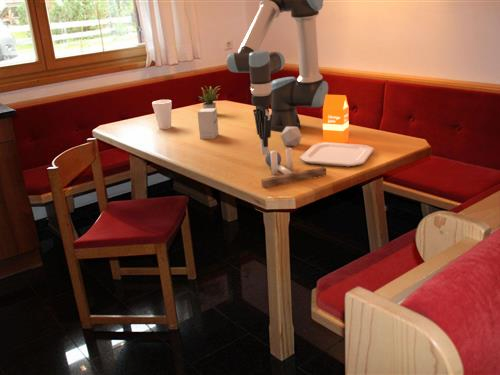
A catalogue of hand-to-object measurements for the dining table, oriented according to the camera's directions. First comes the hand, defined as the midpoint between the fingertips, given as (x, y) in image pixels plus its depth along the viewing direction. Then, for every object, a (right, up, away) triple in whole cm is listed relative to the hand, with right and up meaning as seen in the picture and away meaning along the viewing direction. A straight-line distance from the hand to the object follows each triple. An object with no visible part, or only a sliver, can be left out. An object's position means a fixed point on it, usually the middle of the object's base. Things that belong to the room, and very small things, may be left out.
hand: (264, 153), depth 204 cm
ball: (+3, -3, -8) cm, 9 cm away
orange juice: (+31, +6, +19) cm, 36 cm away
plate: (+28, -2, 0) cm, 28 cm away
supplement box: (-25, +10, +38) cm, 47 cm away
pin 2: (+9, -7, -12) cm, 17 cm away
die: (+12, +5, +18) cm, 22 cm away
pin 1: (+3, -8, -14) cm, 17 cm away
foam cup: (-49, +17, +60) cm, 79 cm away
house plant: (-26, +26, +79) cm, 87 cm away
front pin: (+5, -6, -11) cm, 14 cm away
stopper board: (+10, -11, -22) cm, 26 cm away
